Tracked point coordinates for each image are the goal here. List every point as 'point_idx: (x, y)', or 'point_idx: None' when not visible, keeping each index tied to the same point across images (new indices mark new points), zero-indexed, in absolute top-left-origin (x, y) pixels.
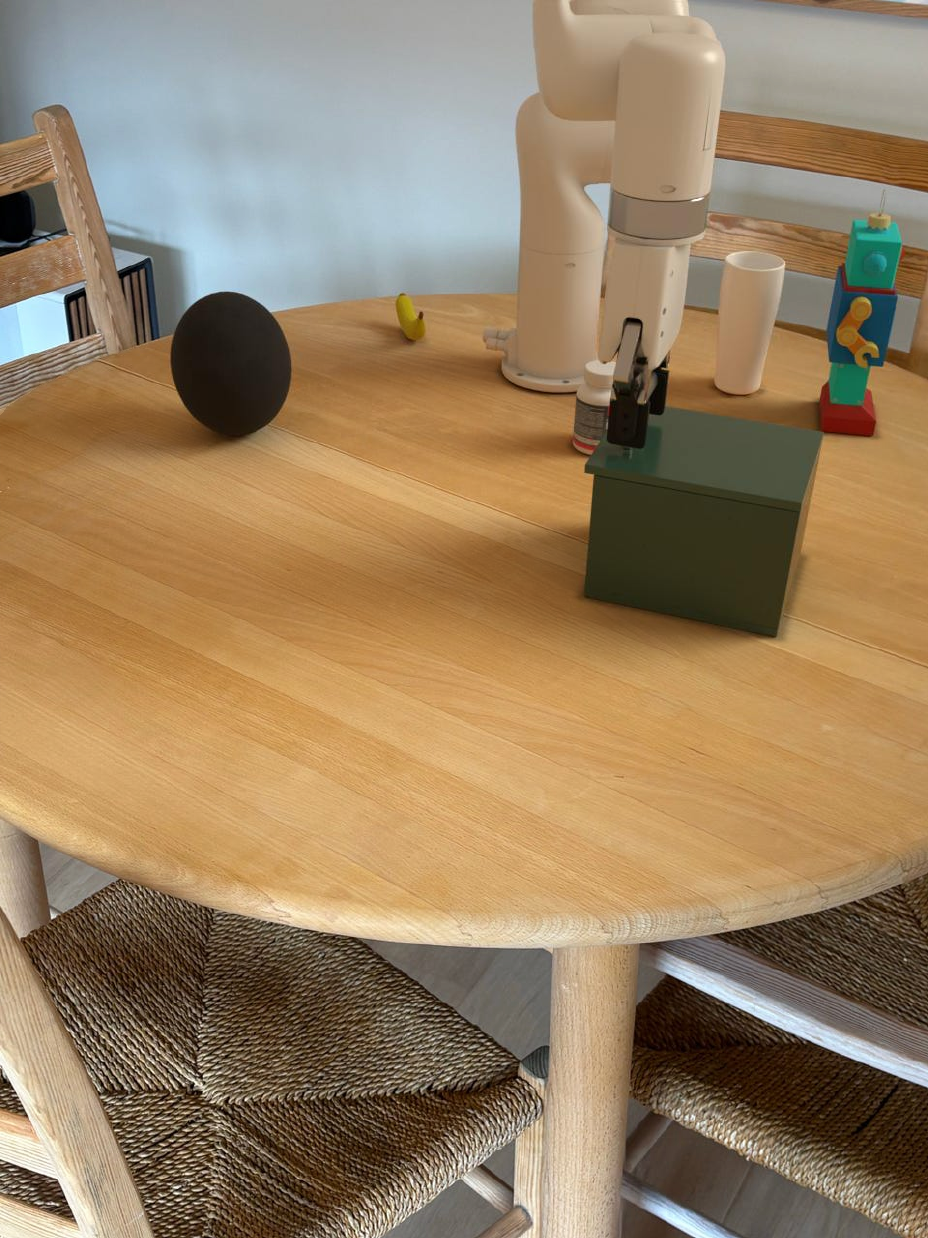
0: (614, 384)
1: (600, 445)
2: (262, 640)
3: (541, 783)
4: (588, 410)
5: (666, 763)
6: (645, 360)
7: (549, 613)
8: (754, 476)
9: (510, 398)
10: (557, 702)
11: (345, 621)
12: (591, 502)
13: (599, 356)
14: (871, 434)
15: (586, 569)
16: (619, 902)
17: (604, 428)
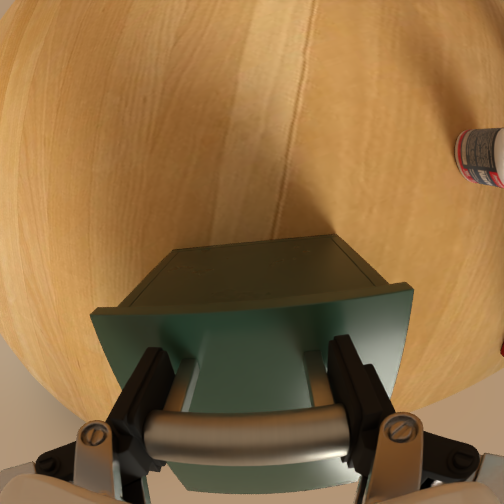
0: (19, 465)
1: (165, 321)
2: (29, 70)
3: (17, 296)
4: (488, 147)
5: (62, 351)
6: (370, 455)
7: (132, 231)
8: (212, 474)
9: (494, 61)
10: (55, 282)
11: (56, 91)
12: (125, 298)
13: (7, 483)
14: (501, 352)
15: (162, 260)
16: (8, 342)
17: (477, 168)
